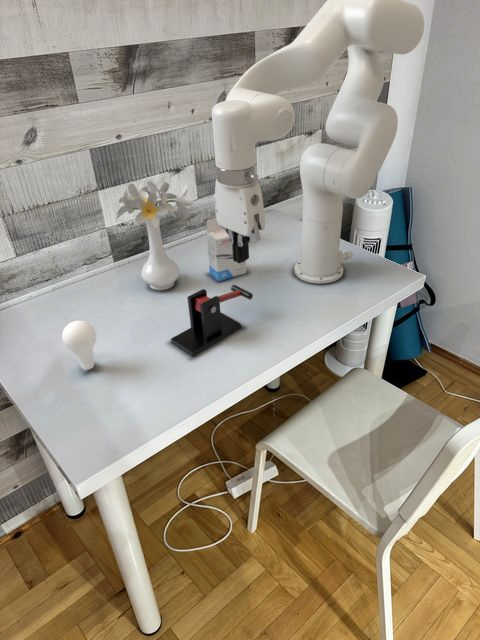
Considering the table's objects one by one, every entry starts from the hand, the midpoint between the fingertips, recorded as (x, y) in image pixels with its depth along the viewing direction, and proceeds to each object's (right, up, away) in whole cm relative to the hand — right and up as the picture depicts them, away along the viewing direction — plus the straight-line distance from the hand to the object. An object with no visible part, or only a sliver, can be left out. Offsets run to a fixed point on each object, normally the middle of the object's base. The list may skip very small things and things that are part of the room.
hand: (241, 259), depth 107 cm
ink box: (-4, 0, +24) cm, 24 cm away
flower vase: (-20, -2, +20) cm, 29 cm away
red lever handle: (-4, -9, +2) cm, 10 cm away
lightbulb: (-30, -23, -6) cm, 38 cm away
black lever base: (-7, -16, +2) cm, 18 cm away
